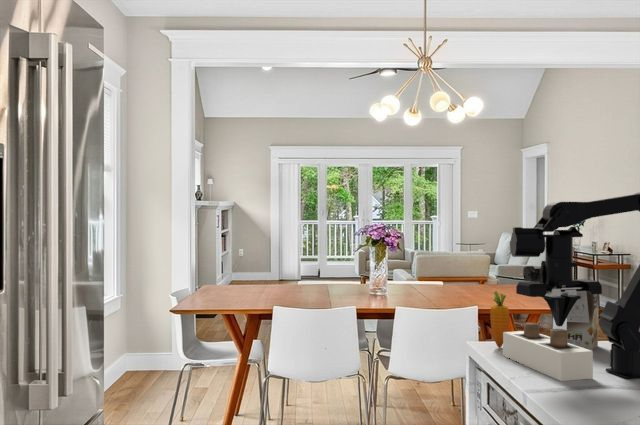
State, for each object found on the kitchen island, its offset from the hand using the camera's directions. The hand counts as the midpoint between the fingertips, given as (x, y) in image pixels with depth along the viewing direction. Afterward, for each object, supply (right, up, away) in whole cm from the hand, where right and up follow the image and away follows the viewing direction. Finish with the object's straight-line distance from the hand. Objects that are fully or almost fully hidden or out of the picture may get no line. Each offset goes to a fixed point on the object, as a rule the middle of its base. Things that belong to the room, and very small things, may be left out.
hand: (559, 326), depth 126 cm
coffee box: (+16, -11, +24) cm, 31 cm away
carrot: (-6, -11, +23) cm, 26 cm away
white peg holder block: (-1, -11, +5) cm, 12 cm away
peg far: (-3, -8, +10) cm, 13 cm away
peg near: (0, -7, 0) cm, 7 cm away
